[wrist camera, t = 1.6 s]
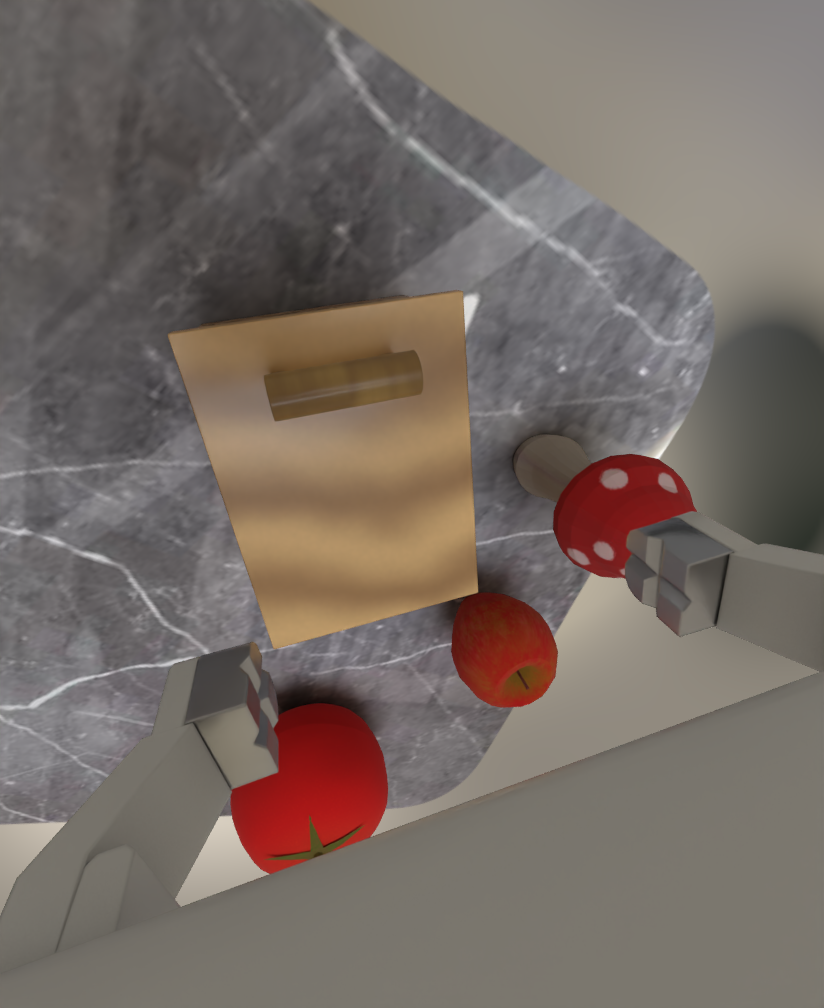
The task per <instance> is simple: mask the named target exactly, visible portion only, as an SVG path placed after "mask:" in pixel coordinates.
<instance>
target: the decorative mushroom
mask: <svg viewBox="0 0 824 1008" xmlns="http://www.w3.org/2000/svg"><path fill="white" fill-rule="evenodd" d="M513 465H514V470H515V473H516V476H517V478H518V480H519V482H520V485H521V486H522V487H523V488H524V489H525V490H526V491H527V492H529V493H531V494H533V495H535V496H537V497H542V498H547V499H550V500H553V501H555V502H557V505H556V507H555V510H554V520H553V530H554V533H555V536H556V538H557V541H558V544H559V546H560V548H561V549H562V551H563V553H564V554H565V555H566V556H567V557H568V558H569V559H570V560H571V561H572V562H573V563H574V564H575V565H577V566H579V567H581V568H583V569H585V570H587V571H590V572H592V573H594V574H596V575H598V576H601V577H612V578H625V563H626V562H627V560H628V559H629V557H630V555H631V554H632V553H631V552H630V551H629V550H628V549H627V548H626V542H627V536H628V534H629V532H630V531H631V530H634V529H638V528H641V527H644V526H648V525H651V524H654V523H658V522H661V521H664V520H668V519H671V518H672V517H675V516H678V515H681V514H684V513H688V512H691V511H694V512H697V511H696V509H695V507H694V506H693V502H692V498H691V495H690V492H689V490H688V488H687V486H686V485H685V483H684V481H683V480H682V479H681V477H680V476H679V475H678V474H677V473H676V472H675V471H674V470H673V469H672V468H670V467H669V466H667V465H666V464H664V463H663V462H661V461H660V460H659V459H655V458H650V457H646V456H641V455H635V454H626V455H616V456H610V457H607V458H605V459H602V460H600V461H597V462H595V463H591V462H590V461H589V460H588V458H587V456H586V454H585V452H584V450H583V449H582V448H581V447H580V445H579V444H578V443H576V442H575V441H573V440H571V439H570V438H567V437H563V436H559V435H549V434H547V435H537V436H534V437H531V438H529V439H528V440H526V441H525V442H523V443H522V444H521V445H520V446H519V448H518V449H517V451H516V453H515V456H514V459H513ZM625 579H626V578H625Z"/></svg>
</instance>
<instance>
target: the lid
mask: <svg viewBox="0 0 824 1008" xmlns="http://www.w3.org/2000/svg"><path fill="white" fill-rule="evenodd" d="M168 338H169V341H170V344H171V347H172V350H173V353H174V355H175V358H176V361H177V364H178V367H179V370H180V373H181V376H182V379H183V382H184V385H185V388H186V391H187V394H188V397H189V400H190V403H191V406H192V409H193V412H194V415H195V418H196V421H197V424H198V427H199V429H200V432H201V435H202V438H203V441H204V444H205V447H206V450H207V453H208V456H209V459H210V462H211V465H212V468H213V471H214V474H215V477H216V480H217V483H218V486H219V489H220V492H221V495H222V498H223V501H224V503H225V506H226V509H227V512H228V515H229V518H230V521H231V524H232V527H233V530H234V533H235V536H236V539H237V542H238V545H239V548H240V551H241V554H242V557H243V560H244V563H245V566H246V569H247V572H248V575H249V577H250V580H251V583H252V586H253V589H254V592H255V595H256V598H257V601H258V604H259V607H260V610H261V613H262V616H263V619H264V622H265V625H266V628H267V631H268V634H269V637H270V640H271V643H272V646H273V648H274V649H277V648H281V647H284V646H288V645H292V644H295V643H299V642H302V641H306V640H309V639H313V638H317V637H320V636H324V635H327V634H331V633H335V632H338V631H342V630H345V629H349V628H353V627H356V626H360V625H363V624H367V623H371V622H374V621H378V620H381V619H385V618H389V617H392V616H396V615H399V614H403V613H407V612H410V611H414V610H417V609H421V608H424V607H428V606H432V605H435V604H439V603H442V602H446V601H450V600H453V599H457V598H460V597H464V596H468V595H471V594H475V593H478V578H477V559H476V539H475V519H474V500H473V480H472V460H471V441H470V421H469V402H468V382H467V362H466V343H465V323H464V303H463V291H459V290H453V291H447V292H440V293H433V294H426V295H419V296H412V297H405V298H399V299H392V300H385V301H378V302H371V303H364V304H357V305H351V306H344V307H337V308H330V309H323V310H316V311H309V312H303V313H296V314H289V315H282V316H275V317H268V318H261V319H255V320H248V321H241V322H234V323H227V324H220V325H213V326H207V327H200V328H193V329H186V330H179V331H172V332H170V333H169V334H168Z"/></svg>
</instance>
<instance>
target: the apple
mask: <svg viewBox="0 0 824 1008" xmlns="http://www.w3.org/2000/svg"><path fill="white" fill-rule="evenodd" d="M451 652H452V656H453V661H454V664H455V666H456V669H457V672H458V674H459V677H460V678H461V679H462V681H463V682H464V683H465V684H466V685H467V686H468V687H469V688H470V689H471V690H472V691H473V693H474V694H475V695H476V696H477V697H478V698H479V699H481V700H483V701H485V702H486V703H488V704H490V705H492V706H497V707H521V706H524V705H527V704H530V703H532V702H534V701H535V700H537V699H539V698H540V697H542V696H543V694H544V693H545V692H546V691H547V689H548V688H549V686H550V684H551V683H552V681H553V679H554V678H555V674H556V666H557V654H558V651H557V647H556V643H555V640H554V638H553V635H552V633H551V630H550V628H549V626H548V624H547V623H546V622H545V620H544V619H543V617H542V616H541V615H540V614H539V613H538V612H537V611H535V610H534V609H533V608H532V607H530V606H529V605H527V604H526V603H525V602H522V601H520V600H517V599H515V598H512V597H510V596H507V595H504V594H497V593H490V592H485V593H477V594H473V595H470V596H467V597H466V598H465V599H464V600H463V601H462V602H461V604H460V606H459V609H458V611H457V614H456V617H455V621H454V625H453V633H452V649H451Z"/></svg>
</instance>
